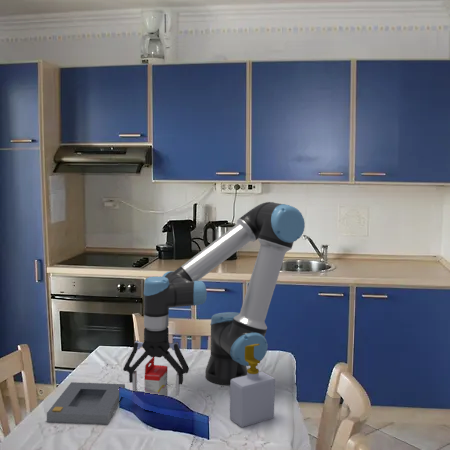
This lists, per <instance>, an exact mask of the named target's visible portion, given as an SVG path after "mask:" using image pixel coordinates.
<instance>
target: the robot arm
mask: <svg viewBox="0 0 450 450" xmlns="http://www.w3.org/2000/svg"><path fill="white" fill-rule="evenodd" d="M236 221H237V222H236V224H235V225H234V226H232V227H231V228H229V229H228V230H227V231H225V232H224V233H223V234H222V235H220V236H219V237H217V238H216V239H215V240H213V242H211V243H210V244H209V245H207V246H206V247H204V248H203V249H202V250H201V251H199V252H198V253H197V254H195V255H194V256H193V257H191V258H190V259H189V260H187V261H185V262H184V264H182V265H181V266H179V267H178V268H176V269H175V270H173V271H172V270H171V271H170V270H169V271H167V272H164V274H163V275H162V276H149V277H147V278H146V279H145V281H144V285H143V286H144V287H143V305H144V307H143V311H144V313H143V326H144V329H143V342H142V341H139V340H138V339H137V340H135V341H134V343H133V347H132V351H131V353H130V354H129V357H128V359H127V361H126V362H125V364H124V366H123V368H122V370H123V372H128V374H129V376H128V381H129V383H130V384H132V392H133V391H136V392H137V390H138V386H137V384H138V382H137V381H138V379H137V375H138V373H137V372H138V371H137V370H136V369H138V367H139V366H140V365H142V363H143V361H145V360H146V359H147V357H148V356H149V357H150V358H153V357H154V358H155V357H156V358H160V359H161V358H164V359H165V360H166V362H168V363H169V365H170V366H171V367H172V368H173V369H174V370H175V371H176V375H175V396H179V395H180V392H181V391H180V389H181V388H180V386H181V385H183V383H184V374H188V373H189V371H190V367H189V366H188V363H187V361H186V360H185V357H184V355H183V353H182V351H181V349H180V344H179V342H178V341H175V342H172V343H171V342H170V341H169V340H170V339H169V338H170V337H169V322H170V321H169V320H170V319H169V315H170V313H169V310H170V308H179V307H182V308H183V307H189V306H190V307H191V306H192V307H193V306H194V307H195V306H199V305H203V304H205V303H206V301H207V297H208V292H207V287H206V284H205V282H204V281H202V280H201V279H203V278H204V277H205V276H206V275H207V274H209V273H210V272H212V271H213V270H214V269H215V268H217V267H218V266H220V265H221V264H222V263H224V261H226V260H227V259H229V258H230V257H231V256H233V255H234V254H235V253H237V252H238V251H239V250H240V249H242V248H243V247H245V246H246V245H247V244H248V243H249V242H255V241H257V240H258V242H259V245H260V247H259V249H258V252H257V256H256V259H255V263H254V266H253V270H252V271H251V272H252V273H251V276H250V279H249V282H248V285H247V289H246V293H245V296H244V298H243V302H242V306H241V308H240V312H235V311H234V312H233V311H226V312H219V313H214V314H213V315H212V316H211V318H210V356H209V359H208V361H207V365H206V368H205V379H206V380H207V381H209V382H211V383H213V384H217V385H226V386H230V381H231V379H233V378H238V377H242V376H246V375H247V369H248V367H250V366H249V365H248V364H249V363H248V362H246V361H245V346H248V345H253V344H260V345H258V346H254V358H255V359H257V360H259V361H260V362H261V361H262V360H263V359H264V358H265V356H266V354H267V352H268V345H269V344H268V342H267V339H266V338H265V337H266V335H267V334H266V333H267V330H268V326H267V324H266V322H265V321H266V318H267V315H268V311H269V308H270V304H271V301H272V298H273V295H274V292H275V288H276V285H277V282H278V279H279V275H280V273H281V269H282V265H283V262H284V259H285V256H286V253H287V252H288V251H290V250H292V248H293V246H294V243H295V242H296V241H297V240H299V239H300V238H301V237H302V236H303V234H304V231H305V223H306V221H305V218H304V216H303V214H302V212H301V211H300V210H299V209H298V208H296V207H294V206H292V205H290V204H285V203H278V202H274V201H267V202H263V203H260V204H258V205H256V206H254V207H253V208H251V209H250V210H248V211H247V212H246V213H244V214H242V216H241V217H239V218H238V219H237V220H236ZM141 348H143V349H144V352H143V353H142V354H141V355H140V357H138V359H137V360H136V361H135V362H134V363H133V364H132V366H130V365H131V363H132V362H133V360H134V357H135V355H136V354H137V352H138V350H140V349H141ZM169 349H171V350H172V351H173V352H174V354H175V356H176V358H177V360H178V361H177V360H176V359H175V358H174V357H173V355H172V354H171V352H170V351H169ZM178 362H179V363H178Z"/></svg>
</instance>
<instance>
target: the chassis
mask: <svg viewBox="0 0 450 450" xmlns="http://www.w3.org/2000/svg"><path fill="white" fill-rule="evenodd" d="M119 387H122V388H125V389H126V384H125V383H100V382H70V383H69V385H68V386H67V387H66V388H65V389H64V391H63V392H62V393H61V395H60V396H59V397H58V398H57V400H56V401H55V402H54V403H53V405H52V406H51V407H50V408H49V410H48V411H47V412H46V423H56V424H57V423H59V424H61V423H63V424H87V425H88V424H89V425H109V423H110V421H111V419H112V417H113V416H114V413H115V411H116V410H117V408H118V406H119V404H120V402H119V390H118V389H119Z"/></svg>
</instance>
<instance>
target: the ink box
mask: <svg viewBox="0 0 450 450" xmlns="http://www.w3.org/2000/svg"><path fill="white" fill-rule="evenodd" d="M145 393H150V394H158V395H165V396H167V397H168V365H167V366H166V365H161V364H160V365H158V364H155V357H151V359H149V361H148V362H147V363H145V366H144V394H145Z"/></svg>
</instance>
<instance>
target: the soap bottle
mask: <svg viewBox="0 0 450 450" xmlns="http://www.w3.org/2000/svg"><path fill="white" fill-rule="evenodd" d="M258 345H260V344H253V345H248V346H245V361H246V362H248V363H249V364H248V365H249V366H248V367H249V368H247V375H246V376H242V377H238V378H233V379H231V381H230V385H229V387H230V392H229V395H230V396H229V418H230V420H231V421H232V422H234V423H235V424H236V425H238V426H239V427H240V428H244V426H245V427H247V426H251V425H254V424H257V423H260V422H264V421H267V420H271V419H273V418H274V417H275V389H276V388H275V386H276V380H275V379H276V378H275V377H273V376H271V375H270V374H268V373H266V372H264V371H260V370H259V369H258V368H257V367H258V365H259V364H260V363H261V361H259V360H257V359H255V358H254V346H258Z"/></svg>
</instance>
